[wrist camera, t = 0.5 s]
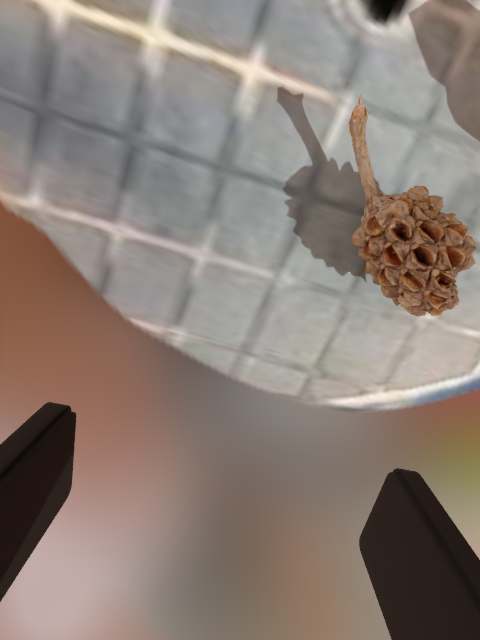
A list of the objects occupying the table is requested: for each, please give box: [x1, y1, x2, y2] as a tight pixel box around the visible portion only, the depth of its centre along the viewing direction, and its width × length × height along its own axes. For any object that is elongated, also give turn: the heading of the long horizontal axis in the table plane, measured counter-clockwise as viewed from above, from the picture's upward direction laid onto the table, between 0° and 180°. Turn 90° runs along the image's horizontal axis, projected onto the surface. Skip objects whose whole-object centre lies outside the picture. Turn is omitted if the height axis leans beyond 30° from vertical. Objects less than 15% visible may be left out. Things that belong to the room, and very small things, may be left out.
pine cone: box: [349, 95, 476, 316], centre depth 31 cm, size 22×10×10 cm, turn 35°
